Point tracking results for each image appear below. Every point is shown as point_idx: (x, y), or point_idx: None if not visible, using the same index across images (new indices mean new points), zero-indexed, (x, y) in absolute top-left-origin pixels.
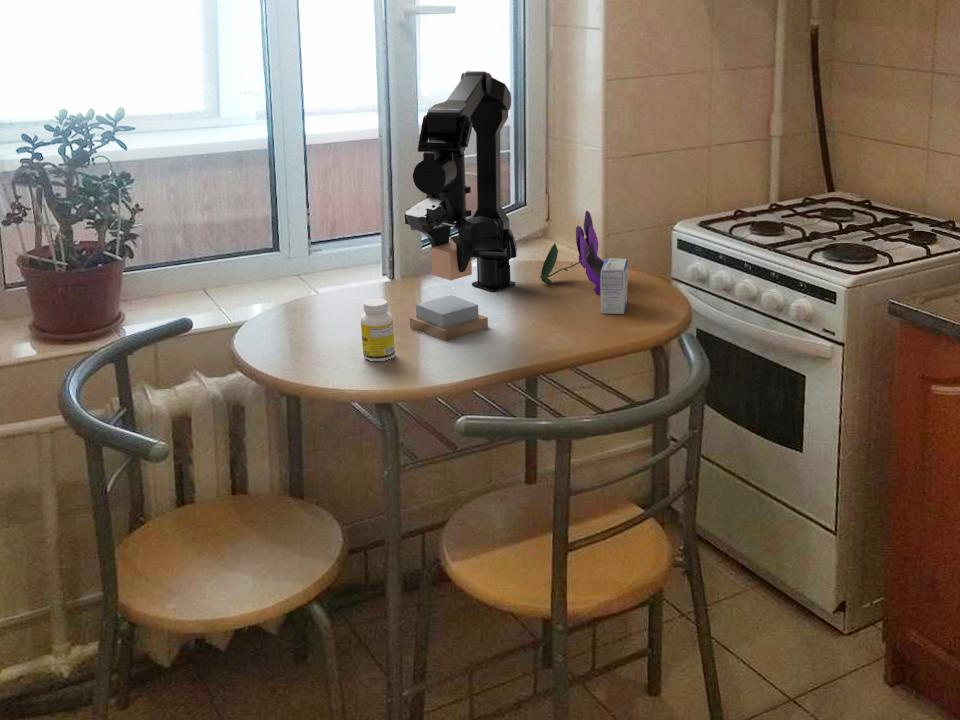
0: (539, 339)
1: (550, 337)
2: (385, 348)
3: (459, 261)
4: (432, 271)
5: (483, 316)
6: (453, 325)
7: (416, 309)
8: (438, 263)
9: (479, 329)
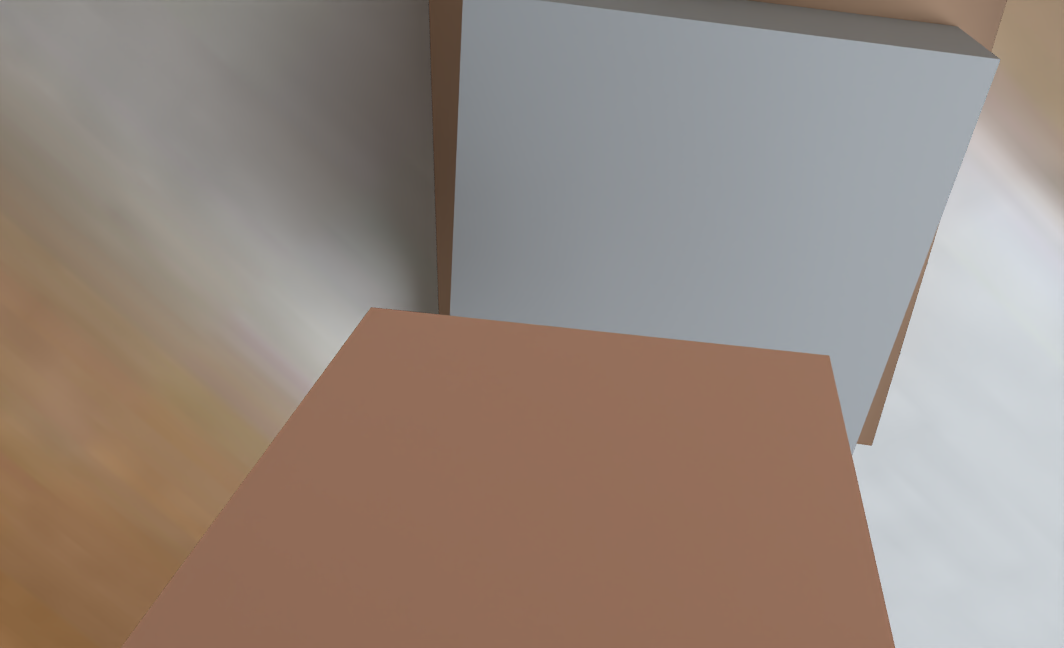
0: (93, 356)
1: (90, 409)
2: None
3: None
4: (826, 392)
5: None
6: None
7: (974, 45)
8: (626, 489)
9: None
